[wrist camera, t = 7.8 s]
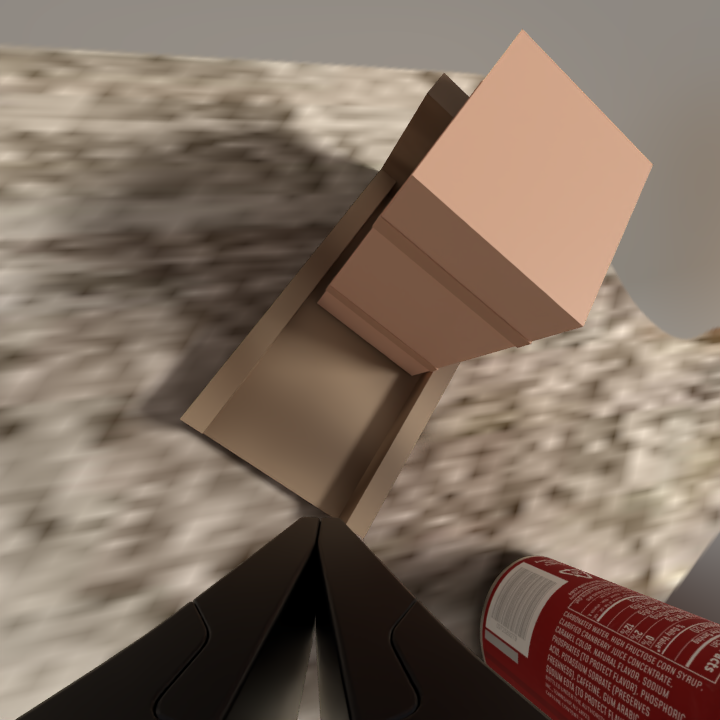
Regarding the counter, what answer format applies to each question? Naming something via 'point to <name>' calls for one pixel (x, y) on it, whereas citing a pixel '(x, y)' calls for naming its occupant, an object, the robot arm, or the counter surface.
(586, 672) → the soda can
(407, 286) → the pink box
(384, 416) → the bay
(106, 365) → the counter surface
